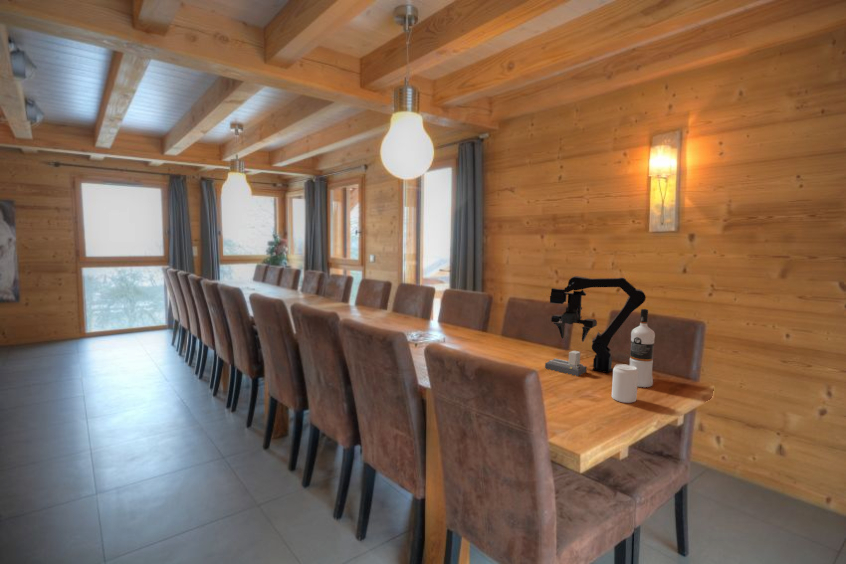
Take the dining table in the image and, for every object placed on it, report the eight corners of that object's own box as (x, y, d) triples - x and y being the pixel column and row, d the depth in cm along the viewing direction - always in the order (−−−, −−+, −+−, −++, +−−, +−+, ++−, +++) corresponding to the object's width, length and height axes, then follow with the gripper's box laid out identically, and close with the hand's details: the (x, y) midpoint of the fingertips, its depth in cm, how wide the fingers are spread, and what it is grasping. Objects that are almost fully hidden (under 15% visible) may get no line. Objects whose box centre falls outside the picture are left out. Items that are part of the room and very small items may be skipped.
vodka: (657, 386, 175) (663, 310, 172) (642, 389, 171) (647, 311, 168) (636, 379, 184) (641, 306, 180) (621, 382, 179) (626, 308, 176)
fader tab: (579, 366, 192) (580, 351, 191) (575, 368, 189) (575, 353, 188) (573, 364, 194) (573, 350, 193) (568, 366, 191) (569, 352, 190)
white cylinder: (637, 405, 155) (639, 371, 154) (612, 402, 158) (614, 368, 156) (634, 397, 163) (636, 365, 162) (610, 394, 165) (612, 362, 164)
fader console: (586, 372, 192) (586, 364, 192) (577, 376, 186) (578, 368, 186) (554, 364, 202) (554, 357, 202) (545, 368, 197) (545, 360, 196)
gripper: (546, 304, 198) (544, 339, 199) (588, 309, 186) (586, 346, 187) (557, 302, 206) (555, 335, 208) (598, 306, 194) (596, 342, 196)
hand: (572, 339), depth 199 cm, fingers open, 9 cm apart
